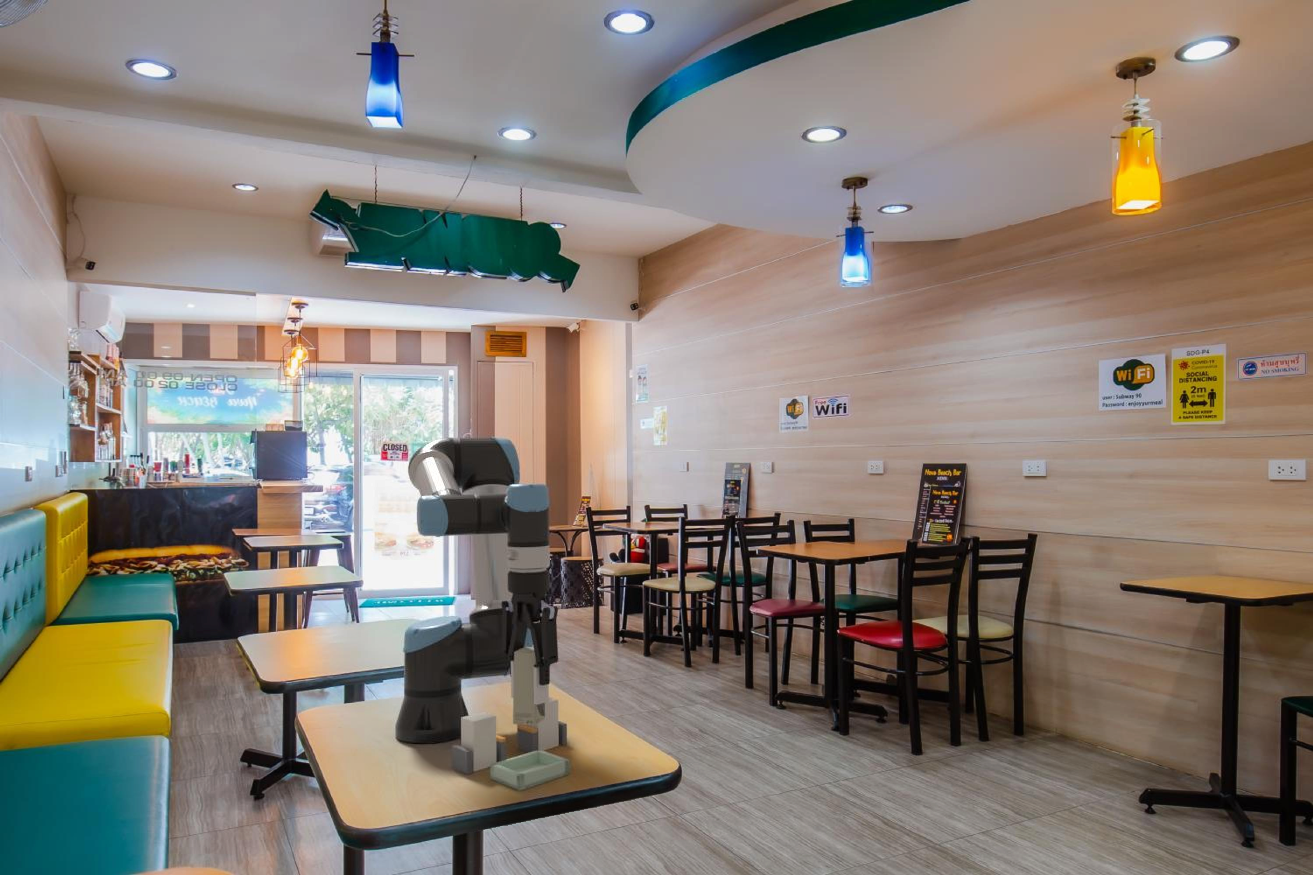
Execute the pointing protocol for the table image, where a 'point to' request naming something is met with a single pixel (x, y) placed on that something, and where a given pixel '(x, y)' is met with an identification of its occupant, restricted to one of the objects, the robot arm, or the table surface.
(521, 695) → the box
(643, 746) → the table surface
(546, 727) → the tall white pillar
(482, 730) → the tall white upright block
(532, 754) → the tray
